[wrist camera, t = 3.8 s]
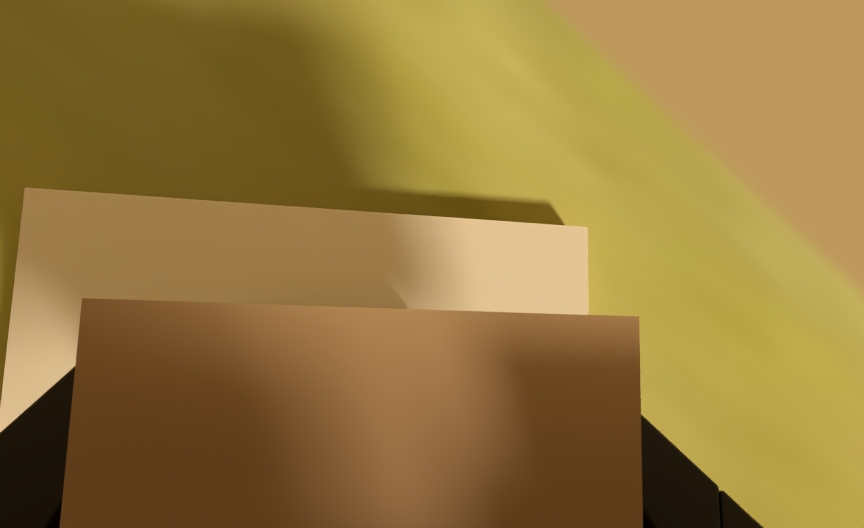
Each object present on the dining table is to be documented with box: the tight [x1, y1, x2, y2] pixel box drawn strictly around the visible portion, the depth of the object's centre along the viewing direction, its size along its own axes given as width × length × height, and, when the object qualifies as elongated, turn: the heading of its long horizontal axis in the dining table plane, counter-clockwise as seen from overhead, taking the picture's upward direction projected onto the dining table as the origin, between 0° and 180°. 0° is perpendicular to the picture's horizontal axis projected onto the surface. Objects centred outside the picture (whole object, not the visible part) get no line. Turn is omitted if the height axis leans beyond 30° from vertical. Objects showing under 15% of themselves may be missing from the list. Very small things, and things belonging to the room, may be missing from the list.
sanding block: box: [60, 298, 643, 528], centre depth 9 cm, size 4×4×10 cm
